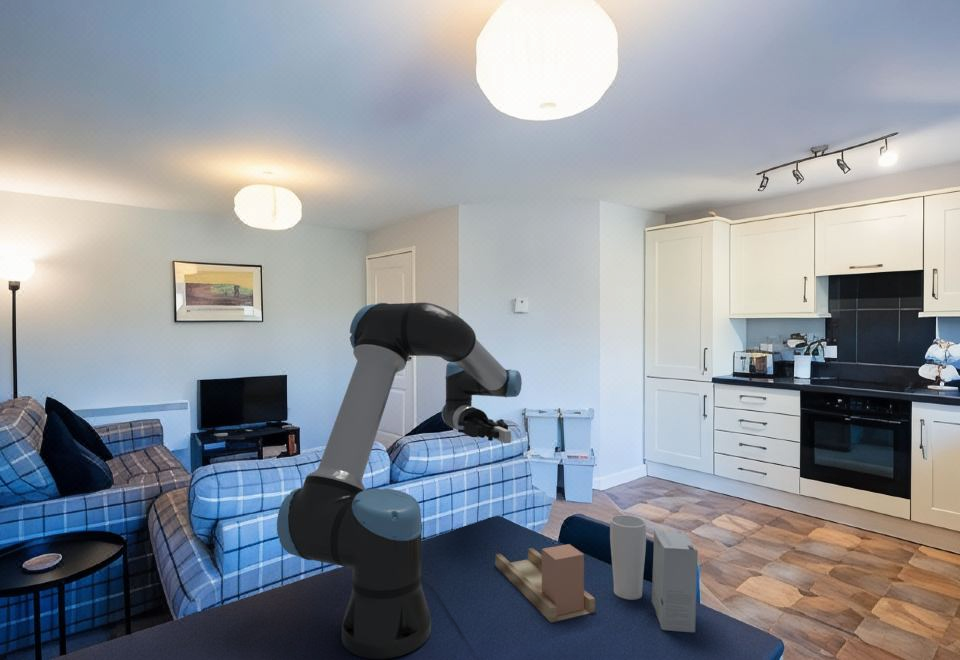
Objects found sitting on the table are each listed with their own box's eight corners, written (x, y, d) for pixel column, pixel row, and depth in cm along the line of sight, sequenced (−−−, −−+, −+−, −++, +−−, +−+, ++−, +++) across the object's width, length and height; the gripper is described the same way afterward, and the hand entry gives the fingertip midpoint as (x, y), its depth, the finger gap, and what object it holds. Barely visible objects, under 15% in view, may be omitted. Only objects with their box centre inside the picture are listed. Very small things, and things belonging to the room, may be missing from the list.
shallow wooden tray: (495, 569, 112) (495, 554, 112) (532, 562, 115) (532, 547, 115) (550, 628, 90) (550, 608, 90) (594, 617, 93) (595, 598, 93)
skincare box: (651, 607, 97) (650, 528, 97) (684, 608, 96) (683, 529, 96) (662, 632, 88) (662, 546, 89) (698, 634, 88) (698, 547, 88)
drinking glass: (611, 604, 98) (611, 525, 98) (608, 587, 104) (608, 513, 104) (648, 608, 96) (648, 528, 96) (643, 590, 103) (643, 515, 103)
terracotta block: (541, 602, 96) (541, 548, 96) (569, 596, 98) (569, 544, 98) (555, 615, 91) (555, 559, 91) (584, 609, 94) (583, 554, 94)
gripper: (492, 433, 141) (533, 451, 120) (447, 436, 136) (481, 456, 115) (492, 406, 141) (533, 419, 120) (447, 408, 137) (481, 422, 115)
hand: (507, 437), depth 117 cm, fingers closed
